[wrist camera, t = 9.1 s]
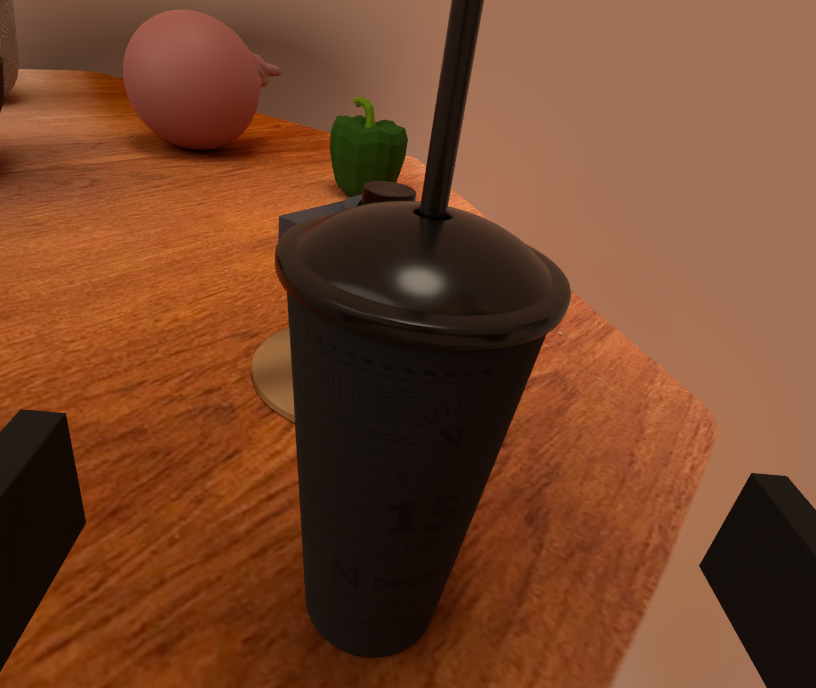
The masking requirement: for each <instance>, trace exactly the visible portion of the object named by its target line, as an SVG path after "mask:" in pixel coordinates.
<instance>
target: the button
mask: <svg viewBox="0 0 816 688" xmlns="http://www.w3.org/2000/svg"><path fill="white" fill-rule="evenodd" d="M415 198H416V191H415V190H414V189H412V188H411V187H408V186H406V185H403V184H399V183H394V182H387V181H372V182H367V183H365V184H364V185H363V192H362V202H361V205H364V204H370V203H378V202H387V201H413V202H415Z"/></svg>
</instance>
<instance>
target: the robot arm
mask: <svg viewBox="0 0 816 688" xmlns="http://www.w3.org/2000/svg"><path fill="white" fill-rule="evenodd" d="M85 524H86V520H85V514H84V509H83V504H82V498H81V493H80V487H79V482H78V477H77V471H76V466H75V460H74V455H73V450H72V444H71V439H70V433H69V428H68V423H67V417H66V413H57V412H45V411H34V410H22V409H20V411H19V412H18V413H17V414H16V415H15V416H14V417H13V418H12V420H11V421H10V422H9V423H8V424H7V425H6V426H5V427H4V428H3V430H2V431H1V432H0V671H1V670H2V668H3V666H4V665H5V663H6V661H7V659H8V658H9V656H10V654H11V652H12V651H13V649H14V647H15V645H16V644H17V642H18V640H19V638H20V637H21V635H22V633H23V632H24V630H25V628H26V626H27V625H28V623H29V621H30V619H31V618H32V616H33V614H34V612H35V611H36V609H37V607H38V605H39V604H40V602H41V600H42V599H43V597H44V595H45V593H46V592H47V590H48V588H49V586H50V585H51V583H52V581H53V579H54V578H55V576H56V574H57V572H58V571H59V569H60V567H61V566H62V564H63V562H64V560H65V559H66V557H67V555H68V553H69V552H70V550H71V548H72V546H73V545H74V543H75V541H76V539H77V538H78V536H79V534H80V532H81V531H82V529H83V527H84V526H85ZM699 566H700V568H701V570H702V572H703V574H704V576H705V577H706V579H707V581H708V583H709V585H710V586H711V588H712V590H713V592H714V593H715V595H716V597H717V599H718V601H719V602H720V604H721V606H722V608H723V610H724V612H725V613H726V615H727V617H728V619H729V621H730V622H731V624H732V626H733V628H734V630H735V631H736V633H737V635H738V637H739V639H740V640H741V642H742V644H743V646H744V647H745V649H746V651H747V653H748V655H749V657H750V658H751V660H752V662H753V664H754V666H755V667H756V669H757V671H758V673H759V674H760V676H761V678H762V680H763V682H764V684H765V685H766V687H767V688H816V510H815V509H814V508H813V506H812V505H811V504H810V503H809V502H808V500H807V499H806V498H805V497H804V496H803V495H802V493H801V492H800V491H799V490H798V489H797V488H796V486H795V485H794V484H793V483H792V482H791V481H790V479H789V478H788V477H787V476H779V475H768V474H756V473H751V475H750V477H749V478H748V480H747V482H746V484H745V486H744V487H743V489H742V491H741V493H740V494H739V496H738V498H737V500H736V501H735V503H734V505H733V507H732V508H731V510H730V512H729V514H728V516H727V517H726V519H725V521H724V523H723V524H722V526H721V528H720V530H719V532H718V533H717V535H716V537H715V539H714V540H713V542H712V544H711V546H710V547H709V549H708V551H707V553H706V555H705V556H704V558H703V560H702V562H701V563H700V565H699Z"/></svg>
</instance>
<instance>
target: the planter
mask: <svg viewBox="0 0 816 688" xmlns="http://www.w3.org/2000/svg"><path fill="white" fill-rule="evenodd" d="M0 57H1V58H2V59H3V74H4V96H5V95H6V94H8V93H9V92H10V90H11V89H12V88H13V86H14V85H15V82H16V79H17V76H18V67H19V61H18V48H17V37H16V27H15V16H14V6H13V0H0Z"/></svg>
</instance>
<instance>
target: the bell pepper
mask: <svg viewBox="0 0 816 688" xmlns="http://www.w3.org/2000/svg"><path fill="white" fill-rule="evenodd" d="M354 103H355V105H356V106H357V107H359V106H363V108H364V110H365V116H366V118H365V117H363V116H361V115H358V116H355V117H348V116H337V118H336V120H335V122H334V124H333V126H332V130H331V140H330V153H331V160H332V167H333V171H334V176H335V180H336V182H337V184H338V186H339V187H341V189H342V190H343V191H344V192H345V193H346V194H348V195H352V196H357V195H362V192H363V185H364V184H365V183H367V182H372V181H387V182H394V183H396V181H397V179H398V176H399V174H400V171H401V168H402V165H403V162H404V159H405V155H406V148H407V141H408V138H407V135H406V131H405V128H403V127H400V126H397V125H396V124H395V123H394V122H393V121H389V120H381V121H379V122H376V123H375V118H374V108H373V106H372V105H371V103H370V101H369V100H367V99H365V98H363V97H358V98H355V99H354Z"/></svg>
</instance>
